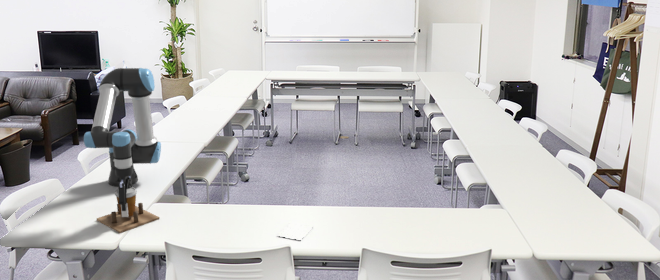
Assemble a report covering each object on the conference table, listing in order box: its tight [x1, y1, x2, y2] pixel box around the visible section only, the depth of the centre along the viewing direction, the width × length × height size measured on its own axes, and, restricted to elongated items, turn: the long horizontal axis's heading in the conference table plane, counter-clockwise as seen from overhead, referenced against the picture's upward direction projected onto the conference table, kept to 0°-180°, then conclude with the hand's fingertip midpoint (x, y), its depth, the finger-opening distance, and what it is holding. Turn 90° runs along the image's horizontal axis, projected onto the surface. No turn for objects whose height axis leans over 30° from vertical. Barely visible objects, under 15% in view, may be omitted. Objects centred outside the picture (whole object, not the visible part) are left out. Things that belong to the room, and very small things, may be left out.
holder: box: [96, 202, 160, 234], centre depth 254 cm, size 20×20×6 cm
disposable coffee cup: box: [114, 186, 138, 217], centre depth 252 cm, size 10×10×12 cm
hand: (127, 212), depth 254 cm, fingers closed on disposable coffee cup, 8 cm apart
